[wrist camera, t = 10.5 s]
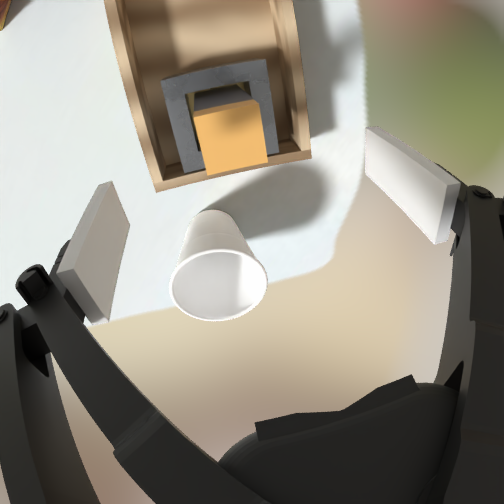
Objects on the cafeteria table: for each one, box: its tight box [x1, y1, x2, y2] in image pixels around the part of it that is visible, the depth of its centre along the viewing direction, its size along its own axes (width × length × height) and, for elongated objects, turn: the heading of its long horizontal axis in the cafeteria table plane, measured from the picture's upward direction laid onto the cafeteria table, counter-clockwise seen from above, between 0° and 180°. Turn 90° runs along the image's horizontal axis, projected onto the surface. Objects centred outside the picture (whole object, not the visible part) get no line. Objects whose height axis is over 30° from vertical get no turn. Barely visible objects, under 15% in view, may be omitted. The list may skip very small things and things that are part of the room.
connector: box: [193, 85, 268, 176], centre depth 25 cm, size 4×4×12 cm
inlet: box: [160, 58, 279, 173], centre depth 28 cm, size 9×9×4 cm
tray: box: [104, 0, 312, 193], centre depth 25 cm, size 22×16×5 cm
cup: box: [169, 210, 268, 321], centre depth 35 cm, size 10×10×11 cm
